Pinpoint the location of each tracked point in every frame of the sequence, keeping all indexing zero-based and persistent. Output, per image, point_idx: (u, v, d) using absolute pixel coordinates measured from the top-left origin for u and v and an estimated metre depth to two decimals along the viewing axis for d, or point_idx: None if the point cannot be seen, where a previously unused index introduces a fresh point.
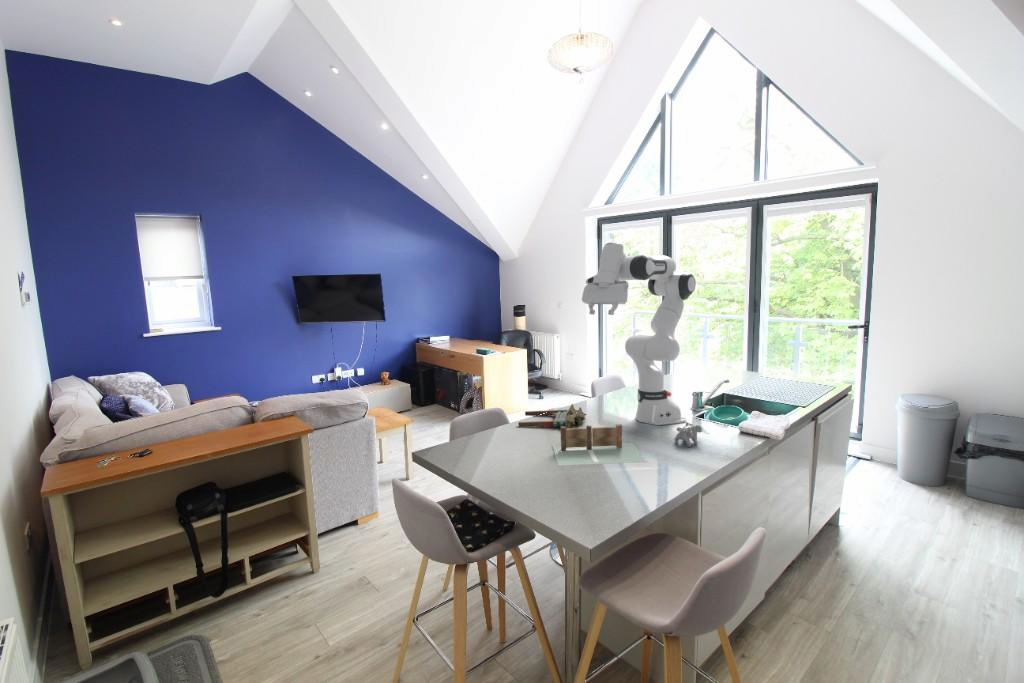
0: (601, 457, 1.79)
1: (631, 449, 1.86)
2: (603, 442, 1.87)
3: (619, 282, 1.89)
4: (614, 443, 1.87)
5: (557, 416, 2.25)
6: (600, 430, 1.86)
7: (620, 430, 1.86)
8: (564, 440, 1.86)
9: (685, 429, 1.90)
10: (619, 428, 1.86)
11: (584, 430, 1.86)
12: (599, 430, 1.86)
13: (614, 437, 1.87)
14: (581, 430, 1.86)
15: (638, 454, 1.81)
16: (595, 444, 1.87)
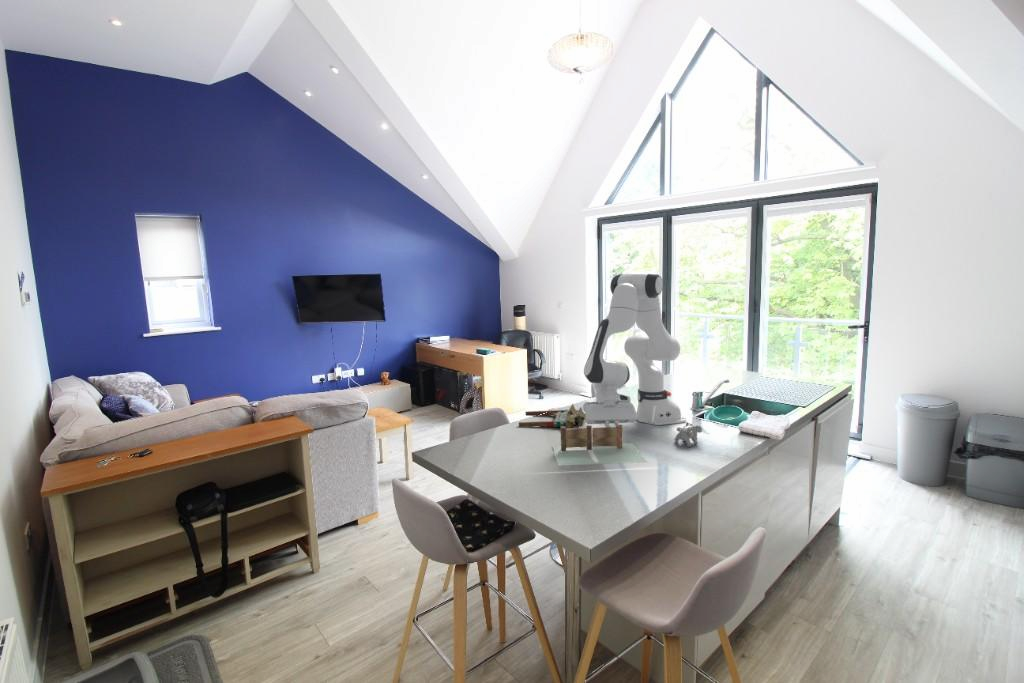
0: (601, 457, 1.79)
1: (631, 449, 1.86)
2: (603, 442, 1.87)
3: None
4: (614, 444, 1.87)
5: (557, 416, 2.25)
6: (600, 430, 1.86)
7: (620, 431, 1.86)
8: (564, 440, 1.86)
9: (685, 429, 1.90)
10: (619, 429, 1.85)
11: (584, 430, 1.86)
12: (599, 430, 1.86)
13: (614, 438, 1.86)
14: (581, 430, 1.86)
15: (638, 454, 1.81)
16: (595, 444, 1.87)
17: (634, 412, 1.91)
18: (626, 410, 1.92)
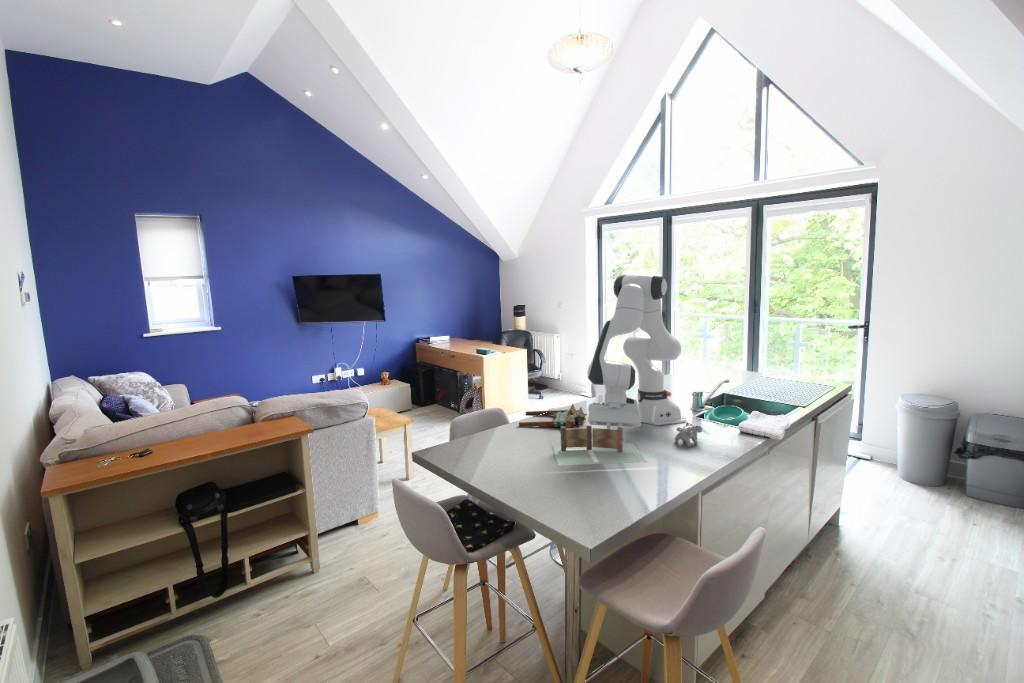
0: (601, 457, 1.79)
1: (631, 449, 1.86)
2: (603, 444, 1.85)
3: None
4: (614, 446, 1.84)
5: (557, 416, 2.25)
6: (600, 431, 1.85)
7: (620, 434, 1.82)
8: (564, 440, 1.86)
9: (685, 429, 1.90)
10: (619, 431, 1.82)
11: (584, 430, 1.86)
12: (598, 431, 1.85)
13: (614, 440, 1.84)
14: (581, 430, 1.86)
15: (638, 454, 1.81)
16: (595, 445, 1.86)
17: (638, 417, 1.86)
18: (631, 414, 1.87)
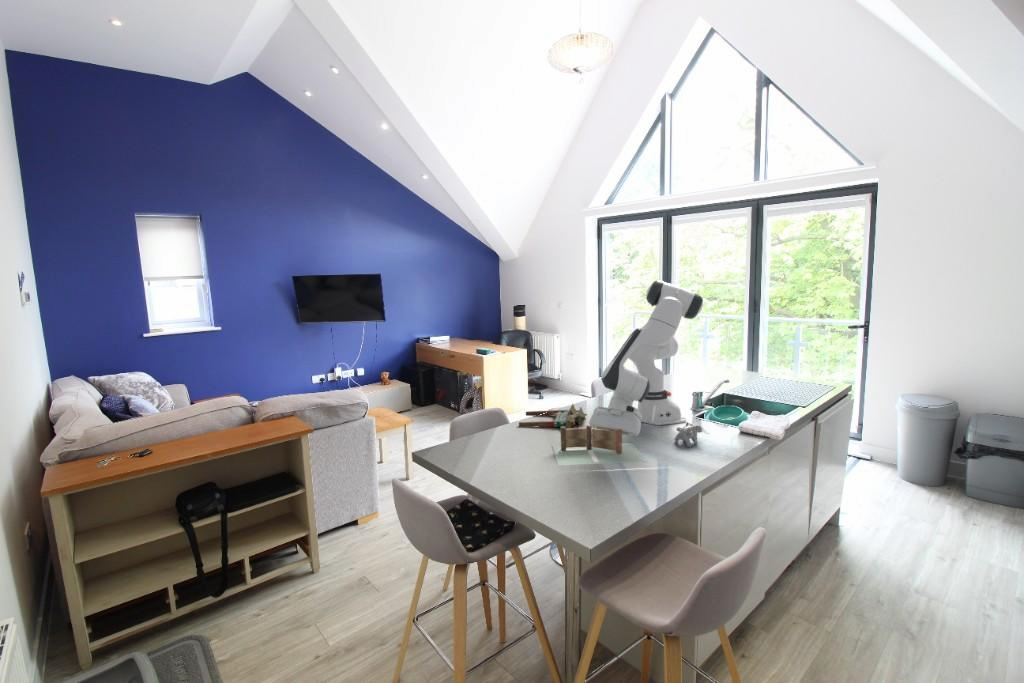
0: (601, 457, 1.79)
1: (631, 449, 1.86)
2: (602, 444, 1.84)
3: None
4: (613, 448, 1.82)
5: (557, 416, 2.25)
6: (599, 431, 1.84)
7: (619, 435, 1.80)
8: (564, 440, 1.86)
9: (685, 429, 1.90)
10: (618, 433, 1.80)
11: (584, 430, 1.86)
12: (598, 431, 1.84)
13: (613, 442, 1.82)
14: (581, 430, 1.86)
15: (638, 454, 1.81)
16: (594, 445, 1.86)
17: (634, 426, 1.81)
18: (628, 422, 1.83)
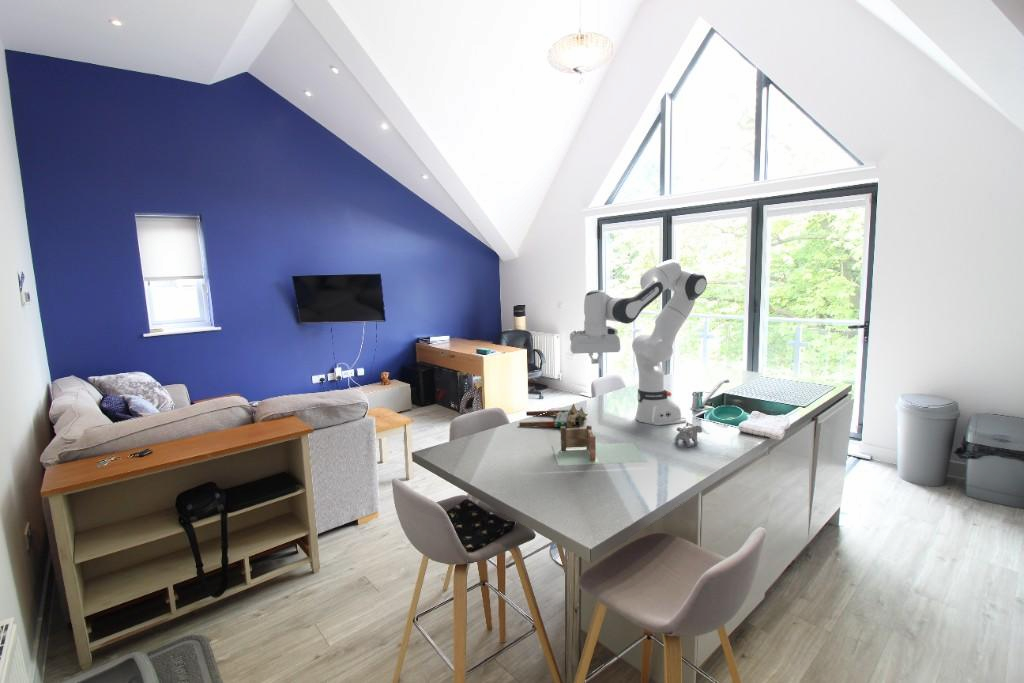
0: (601, 457, 1.79)
1: (631, 449, 1.86)
2: (589, 447, 1.82)
3: None
4: None
5: (558, 416, 2.25)
6: (588, 433, 1.82)
7: (590, 441, 1.75)
8: (564, 440, 1.86)
9: (685, 429, 1.89)
10: (590, 439, 1.75)
11: (584, 430, 1.86)
12: (588, 433, 1.83)
13: None
14: (581, 430, 1.86)
15: (638, 454, 1.81)
16: (588, 446, 1.85)
17: (618, 345, 1.97)
18: (611, 343, 1.97)
